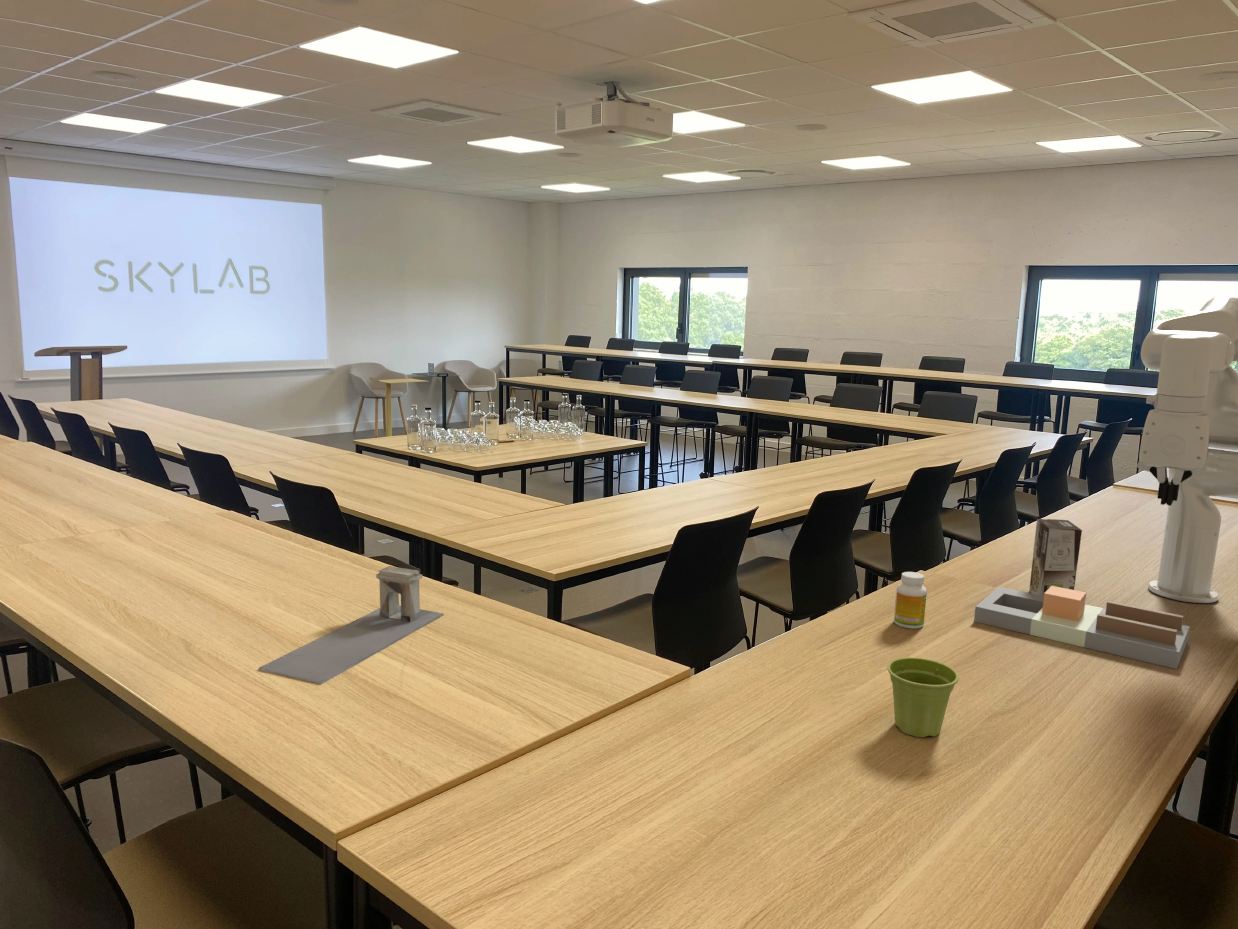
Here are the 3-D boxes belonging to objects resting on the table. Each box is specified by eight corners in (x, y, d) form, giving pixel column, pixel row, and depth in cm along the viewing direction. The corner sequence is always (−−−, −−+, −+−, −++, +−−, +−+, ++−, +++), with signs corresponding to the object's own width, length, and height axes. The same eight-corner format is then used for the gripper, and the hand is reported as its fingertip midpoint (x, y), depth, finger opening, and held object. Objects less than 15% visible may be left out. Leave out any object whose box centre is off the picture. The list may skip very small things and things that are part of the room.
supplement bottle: (925, 630, 159) (930, 580, 157) (895, 627, 160) (899, 577, 159) (921, 620, 164) (926, 571, 163) (892, 617, 165) (896, 569, 164)
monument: (443, 617, 161) (443, 567, 160) (321, 687, 131) (319, 627, 129) (388, 607, 166) (387, 559, 164) (258, 672, 136) (255, 614, 134)
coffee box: (1073, 607, 174) (1083, 530, 171) (1039, 604, 175) (1048, 527, 172) (1060, 593, 183) (1069, 519, 180) (1027, 590, 184) (1036, 517, 181)
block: (1049, 605, 166) (1051, 585, 165) (1083, 612, 162) (1086, 592, 161) (1041, 613, 161) (1044, 593, 160) (1077, 621, 157) (1080, 600, 157)
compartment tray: (997, 600, 177) (1000, 574, 176) (1187, 641, 157) (1191, 613, 156) (973, 621, 165) (976, 594, 164) (1176, 669, 144) (1181, 638, 143)
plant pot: (944, 751, 115) (951, 691, 114) (874, 732, 120) (879, 674, 119) (958, 724, 123) (964, 667, 122) (892, 707, 128) (897, 652, 127)
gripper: (1128, 403, 156) (1116, 501, 160) (1228, 411, 146) (1213, 514, 150) (1135, 398, 161) (1124, 493, 165) (1232, 405, 152) (1217, 505, 156)
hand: (1166, 503), depth 158 cm, fingers closed
